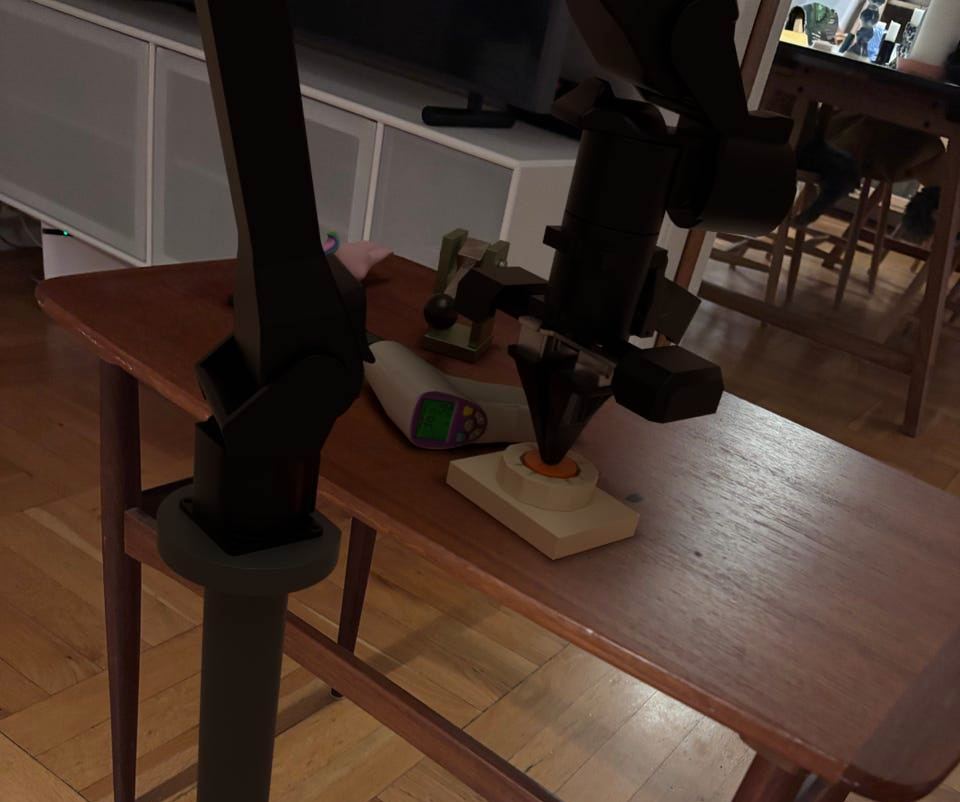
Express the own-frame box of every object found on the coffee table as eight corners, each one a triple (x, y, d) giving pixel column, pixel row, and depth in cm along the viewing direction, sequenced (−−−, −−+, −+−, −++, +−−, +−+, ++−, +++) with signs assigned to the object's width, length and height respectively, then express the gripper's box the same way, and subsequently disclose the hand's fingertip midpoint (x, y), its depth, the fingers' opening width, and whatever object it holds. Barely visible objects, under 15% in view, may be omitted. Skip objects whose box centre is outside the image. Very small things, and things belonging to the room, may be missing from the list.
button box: (552, 560, 62) (565, 512, 60) (445, 482, 68) (454, 436, 66) (633, 536, 67) (648, 491, 65) (526, 465, 73) (537, 422, 71)
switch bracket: (478, 364, 89) (499, 254, 83) (417, 346, 90) (434, 236, 84) (496, 347, 94) (518, 242, 88) (438, 330, 94) (455, 224, 89)
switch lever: (450, 341, 83) (452, 312, 80) (417, 331, 83) (418, 302, 81) (493, 270, 89) (495, 240, 86) (462, 261, 89) (464, 232, 87)
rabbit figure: (313, 318, 94) (409, 275, 104) (311, 257, 90) (412, 218, 100) (265, 297, 96) (364, 257, 106) (262, 237, 92) (365, 200, 102)
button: (544, 502, 65) (550, 478, 64) (508, 477, 66) (513, 454, 66) (581, 493, 67) (587, 470, 66) (545, 469, 69) (551, 447, 68)
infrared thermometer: (576, 457, 78) (409, 452, 71) (505, 395, 86) (348, 384, 79) (594, 404, 76) (423, 393, 68) (519, 344, 84) (359, 329, 76)
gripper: (818, 269, 57) (728, 506, 65) (592, 179, 67) (540, 394, 76) (703, 275, 50) (620, 538, 59) (470, 173, 60) (429, 411, 69)
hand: (550, 462), depth 66 cm, fingers closed, pressing on button
